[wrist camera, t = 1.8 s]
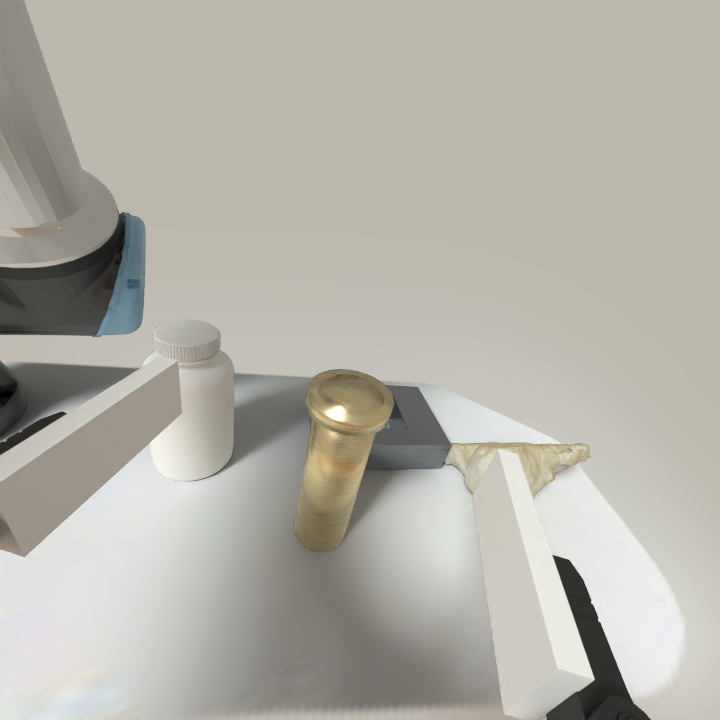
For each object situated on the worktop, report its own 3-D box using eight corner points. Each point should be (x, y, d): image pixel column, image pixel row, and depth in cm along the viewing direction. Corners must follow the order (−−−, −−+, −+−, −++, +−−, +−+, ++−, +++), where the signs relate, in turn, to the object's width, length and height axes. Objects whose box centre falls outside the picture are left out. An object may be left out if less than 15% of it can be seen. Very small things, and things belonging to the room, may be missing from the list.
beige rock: (423, 511, 38) (571, 533, 28) (417, 445, 40) (556, 444, 30) (482, 491, 49) (605, 502, 39) (476, 440, 51) (592, 437, 41)
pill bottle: (213, 420, 41) (211, 308, 34) (246, 460, 37) (252, 343, 30) (140, 446, 36) (119, 320, 29) (170, 498, 32) (153, 364, 24)
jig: (314, 470, 38) (319, 444, 36) (308, 404, 48) (311, 381, 46) (440, 468, 42) (451, 445, 40) (410, 407, 52) (417, 387, 50)
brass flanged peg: (273, 539, 30) (290, 399, 22) (307, 488, 36) (330, 360, 28) (337, 572, 29) (379, 435, 21) (362, 514, 34) (403, 387, 26)
